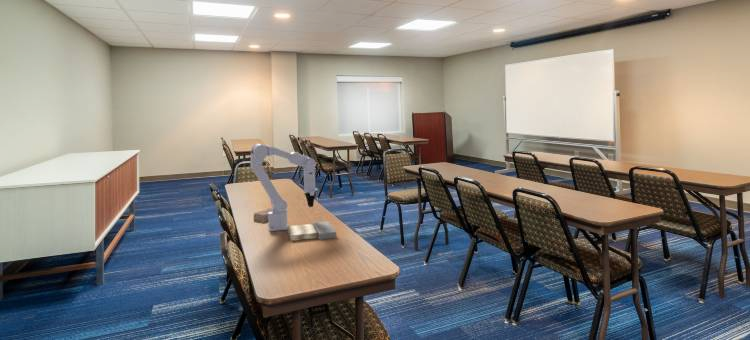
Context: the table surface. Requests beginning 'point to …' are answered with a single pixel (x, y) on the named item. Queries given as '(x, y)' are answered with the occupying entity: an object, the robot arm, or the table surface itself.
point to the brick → (262, 215)
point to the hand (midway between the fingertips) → (310, 206)
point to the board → (324, 230)
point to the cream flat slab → (302, 232)
